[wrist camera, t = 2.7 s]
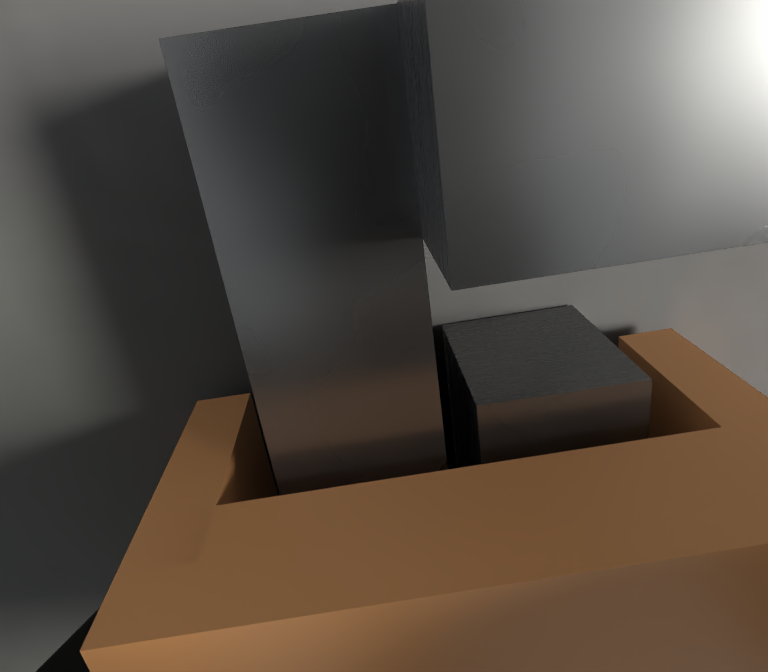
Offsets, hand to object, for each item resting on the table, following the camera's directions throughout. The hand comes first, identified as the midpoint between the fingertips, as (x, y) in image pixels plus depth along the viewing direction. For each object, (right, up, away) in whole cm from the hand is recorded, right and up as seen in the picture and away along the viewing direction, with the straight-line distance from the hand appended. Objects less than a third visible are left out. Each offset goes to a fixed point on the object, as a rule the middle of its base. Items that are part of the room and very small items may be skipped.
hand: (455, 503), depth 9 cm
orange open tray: (0, 0, +1) cm, 1 cm away
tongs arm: (0, +1, +1) cm, 1 cm away
